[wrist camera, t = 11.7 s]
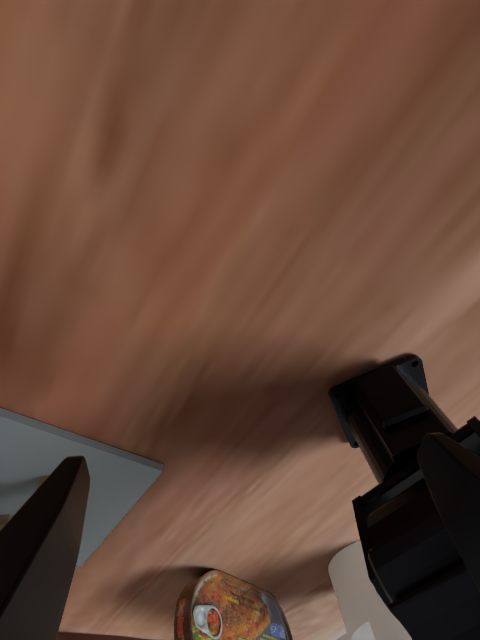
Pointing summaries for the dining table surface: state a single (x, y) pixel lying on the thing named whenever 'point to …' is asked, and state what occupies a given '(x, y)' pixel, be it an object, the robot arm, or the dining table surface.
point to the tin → (228, 611)
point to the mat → (49, 451)
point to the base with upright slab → (361, 599)
